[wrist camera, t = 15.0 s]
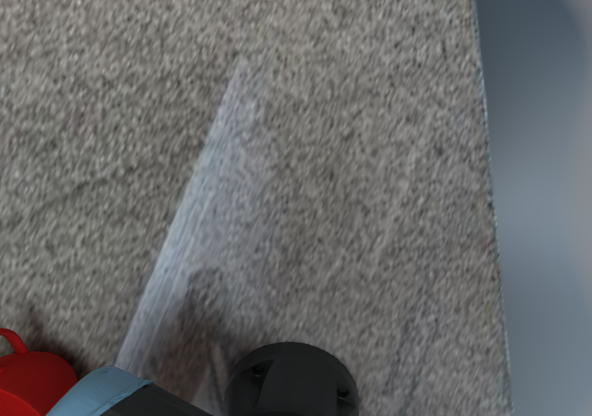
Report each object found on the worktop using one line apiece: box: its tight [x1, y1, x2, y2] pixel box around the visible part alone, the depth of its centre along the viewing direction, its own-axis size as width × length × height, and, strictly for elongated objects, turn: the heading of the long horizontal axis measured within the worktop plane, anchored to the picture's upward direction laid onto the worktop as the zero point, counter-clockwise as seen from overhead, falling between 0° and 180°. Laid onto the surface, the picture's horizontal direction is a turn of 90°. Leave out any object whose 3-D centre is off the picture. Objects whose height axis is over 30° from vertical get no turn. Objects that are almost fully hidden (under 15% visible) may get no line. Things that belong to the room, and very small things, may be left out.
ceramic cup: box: [0, 328, 78, 416], centre depth 52 cm, size 13×17×10 cm
